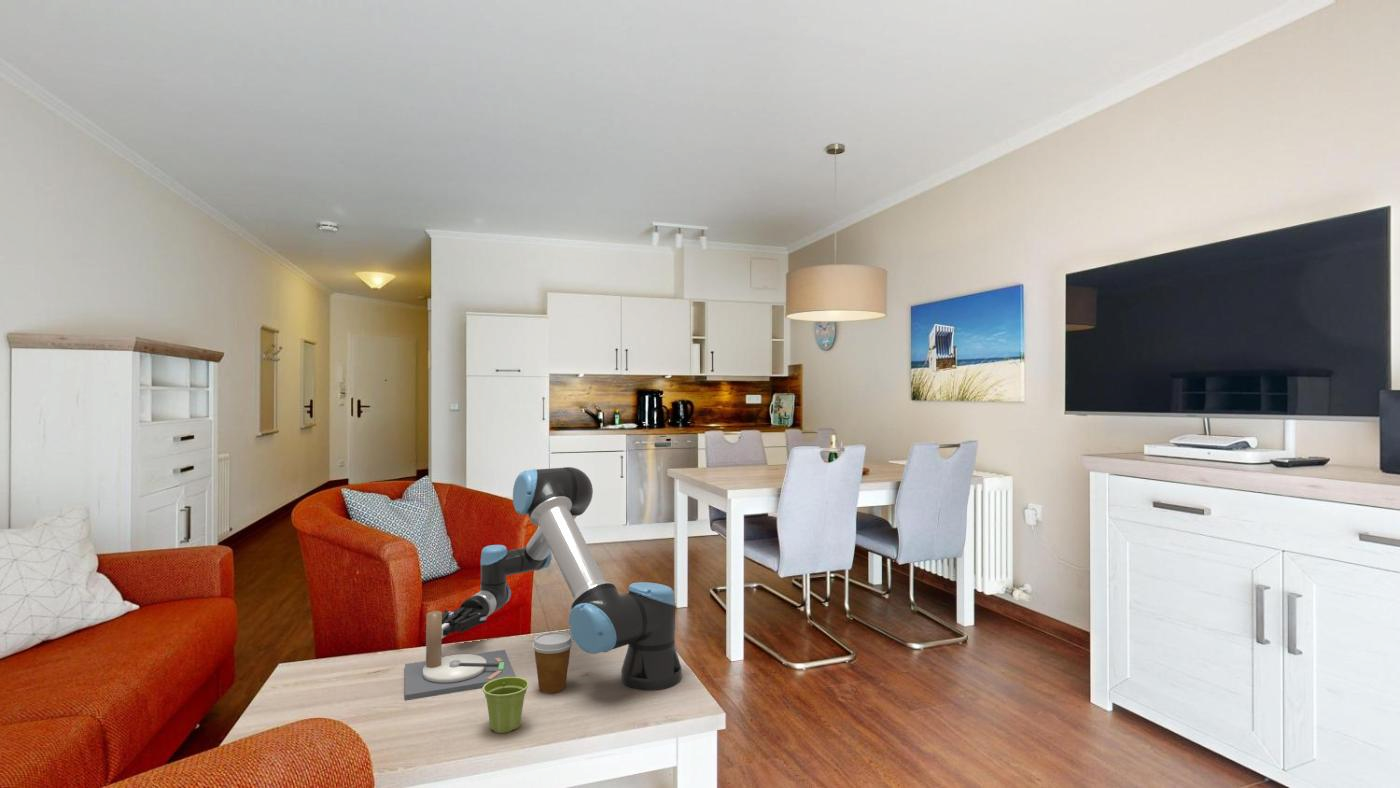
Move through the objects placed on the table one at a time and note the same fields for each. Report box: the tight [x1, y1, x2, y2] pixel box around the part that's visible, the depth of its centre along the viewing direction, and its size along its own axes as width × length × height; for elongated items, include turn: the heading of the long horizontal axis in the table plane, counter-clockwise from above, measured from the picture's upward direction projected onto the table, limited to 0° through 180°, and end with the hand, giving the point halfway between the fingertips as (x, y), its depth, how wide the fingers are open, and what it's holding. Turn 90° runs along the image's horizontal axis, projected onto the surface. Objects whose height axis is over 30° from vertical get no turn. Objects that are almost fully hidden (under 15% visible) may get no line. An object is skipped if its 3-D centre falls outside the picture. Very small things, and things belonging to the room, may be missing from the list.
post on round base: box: [423, 610, 499, 683], centre depth 165 cm, size 16×15×14 cm
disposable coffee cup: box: [532, 631, 574, 694], centre depth 158 cm, size 10×10×12 cm
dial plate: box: [404, 649, 517, 701], centre depth 165 cm, size 20×25×2 cm
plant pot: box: [482, 676, 530, 734], centre depth 139 cm, size 9×9×9 cm
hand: (433, 637), depth 167 cm, fingers closed
